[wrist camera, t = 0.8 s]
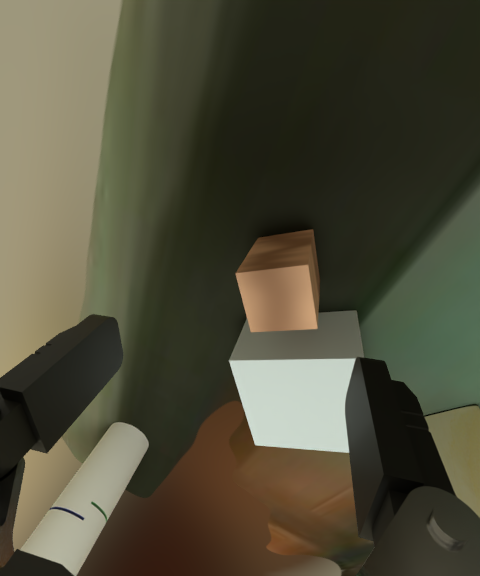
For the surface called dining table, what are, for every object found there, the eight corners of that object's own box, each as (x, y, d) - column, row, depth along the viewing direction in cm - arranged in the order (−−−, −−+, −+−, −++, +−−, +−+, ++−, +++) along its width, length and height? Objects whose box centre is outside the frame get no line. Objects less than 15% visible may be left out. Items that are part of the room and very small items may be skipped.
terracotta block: (313, 229, 26) (308, 264, 19) (320, 280, 28) (317, 329, 21) (258, 237, 28) (235, 273, 21) (268, 285, 30) (250, 332, 23)
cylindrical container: (115, 415, 47) (-61, 653, 26) (154, 438, 47) (12, 693, 26) (105, 436, 51) (-56, 659, 29) (141, 457, 51) (7, 694, 30)
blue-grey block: (356, 310, 28) (364, 358, 22) (363, 395, 33) (371, 454, 27) (247, 317, 32) (229, 360, 26) (267, 393, 37) (255, 445, 31)
